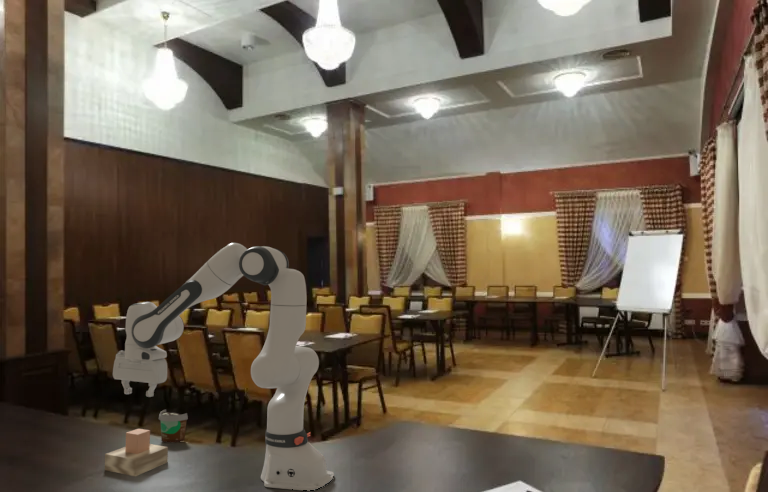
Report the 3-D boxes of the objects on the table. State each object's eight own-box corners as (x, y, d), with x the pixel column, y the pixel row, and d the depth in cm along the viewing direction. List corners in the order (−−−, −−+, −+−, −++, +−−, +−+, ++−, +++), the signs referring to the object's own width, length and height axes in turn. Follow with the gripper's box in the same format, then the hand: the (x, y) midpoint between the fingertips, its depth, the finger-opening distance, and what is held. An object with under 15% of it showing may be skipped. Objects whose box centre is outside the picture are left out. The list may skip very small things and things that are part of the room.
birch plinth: (167, 462, 176) (167, 447, 176) (135, 476, 164) (135, 459, 164) (137, 456, 180) (138, 441, 181) (104, 470, 168) (105, 453, 169)
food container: (150, 440, 198) (151, 413, 199) (164, 435, 204) (165, 409, 204) (173, 445, 192) (174, 417, 193) (187, 440, 198) (188, 413, 198)
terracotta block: (149, 449, 174) (150, 430, 174) (137, 453, 169) (137, 434, 169) (138, 447, 176) (138, 428, 176) (125, 451, 171) (125, 432, 171)
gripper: (108, 351, 175) (107, 394, 174) (155, 355, 167) (154, 400, 166) (124, 348, 181) (123, 390, 180) (171, 352, 173) (170, 395, 172)
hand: (138, 395), depth 173 cm, fingers open, 8 cm apart
